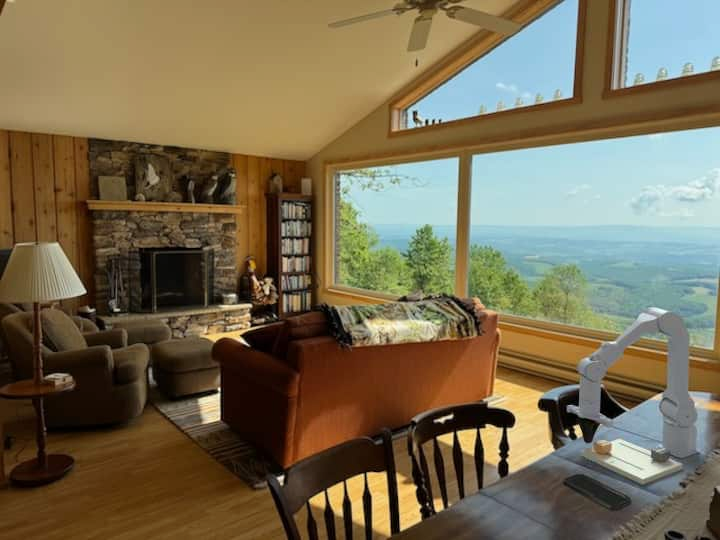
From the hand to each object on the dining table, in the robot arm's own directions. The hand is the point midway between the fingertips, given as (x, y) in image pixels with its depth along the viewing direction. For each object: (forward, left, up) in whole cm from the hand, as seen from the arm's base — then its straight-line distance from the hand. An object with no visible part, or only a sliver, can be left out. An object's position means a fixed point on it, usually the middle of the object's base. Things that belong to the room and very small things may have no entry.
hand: (588, 442), depth 151 cm
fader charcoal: (-10, +16, -1) cm, 19 cm away
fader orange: (0, +5, -1) cm, 5 cm away
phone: (+19, +17, -3) cm, 26 cm away
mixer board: (-4, +11, -3) cm, 12 cm away
